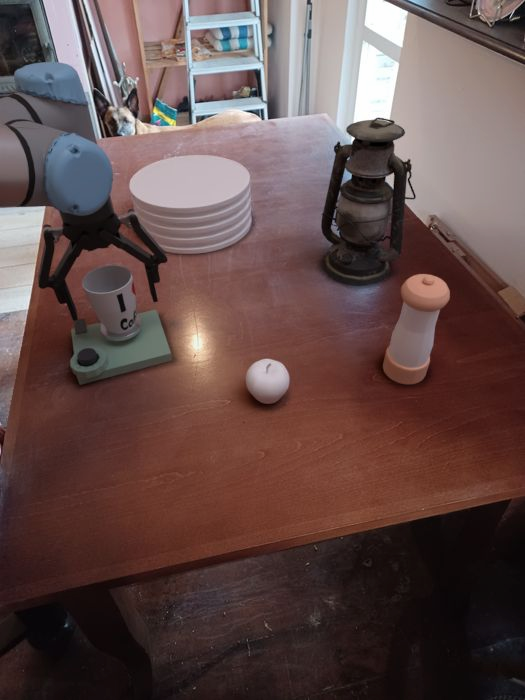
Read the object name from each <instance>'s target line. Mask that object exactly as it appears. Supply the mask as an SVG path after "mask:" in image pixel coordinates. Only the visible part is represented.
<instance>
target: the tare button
mask: <svg viewBox="0 0 525 700" xmlns="http://www.w3.org/2000/svg"><path fill="white" fill-rule="evenodd" d="M77 358H78V360H79V363H80V364H81V365H82V366H84V367H88V366H92V365H94V364H95V363H96V362H97V360H98V357H97V354H96V351H95V350H94V349H92V348H85V349H83V350H81V351H80V352H79V353H78V355H77Z"/></svg>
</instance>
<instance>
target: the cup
mask: <svg viewBox="0 0 525 700" xmlns="http://www.w3.org/2000/svg"><path fill="white" fill-rule="evenodd" d="M81 287H82V289H83V290H84V293H85V295H86V298H87V300H88V302H89V305H90V306H91V308H92V310H93V311H94V313H95V315H96V317H97V318H98V320H99V322H101V323H102V324H103V325H104V326H105V327H106V329H107V330H108V331H109V332H111V333H114V334H121V333H125V332H128V331H130V330H131V329H132V328H133V327H134V325H135V321H136V314H138V311H137V309H138V308H137V292H136V289H135V282H134V276H133V273H132V270H131V269H129V268H128V267H126V266H124V265H121V264H105V265H102V266H98V267H96V268H93V269H92V270H90V271H88V272H87V273H86V274H85V275H84V277H83V278H82V280H81Z"/></svg>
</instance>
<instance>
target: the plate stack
mask: <svg viewBox="0 0 525 700" xmlns="http://www.w3.org/2000/svg"><path fill="white" fill-rule="evenodd" d="M128 187H129V193H130V195H131V201H132V204H133V210H135V213H136V215H137V218H138V221H139V222H140V223H141V225H142V226H143V227H144V228H145V229H146V230H147V232H148V233H149V234H150V235H151V236H152V237H153V239H154V240H155V241H156V242H157V243H158V244H159V246H160V247H161V248H162V249H163V250H164V252H165V253H172V254H177V255H178V254H179V255H197V254H198V255H199V254H206V253H211V252H215V251H219V250H223V249H225V248H228V247H230V246H232V245H234V244H236V243H237V242H239V241H241V240H242V239H244V237H245V236H246V235H247V234H248V233H249V232H250V230H251V227H252V219H253V218H252V196H251V192H252V191H251V190H252V189H251V174H250V172H249V171H248V169H247V168H246V167H245V166H244V165H242V164H241V163H239V162H237V161H236V160H232V159H230V158H227V157H222V156H217V155H209V154H189V155H188V154H187V155H180V156H179V155H178V156H172V157H168V158H164V159H161V160H158V161H154V162H152V163H150V164H147V165H145V166H143V167H142V168H140V169H139V170H138V171H136V172H135V173H134V175H132V177H131V178H130V180H129V185H128Z"/></svg>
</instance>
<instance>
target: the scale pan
mask: <svg viewBox="0 0 525 700" xmlns="http://www.w3.org/2000/svg"><path fill="white" fill-rule="evenodd" d="M137 314H138V313H136V321H135V325H134V327H133V328H132V329H131V330H130V331H128V332H125V333H121V334H114V333H111V332H109V331H108V330H107V329H106V327H105V326H104V325H103V324H101V327H100V328H101V332H102V335H103V336H104V337H105V338H106V339H108V340H111V341H123V340H127V339H130V338H132V337H134V336H135V335H137V334H138V333H139V332H140V330H141V328H142V322H141V318H140V317H139V316H138V315H137ZM86 326H87V322H86V318H85V317H82V318H78V320H75V321H73V327H74V329H75V334H76V335H78V334H82V333H86V332H87V327H86Z"/></svg>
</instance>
